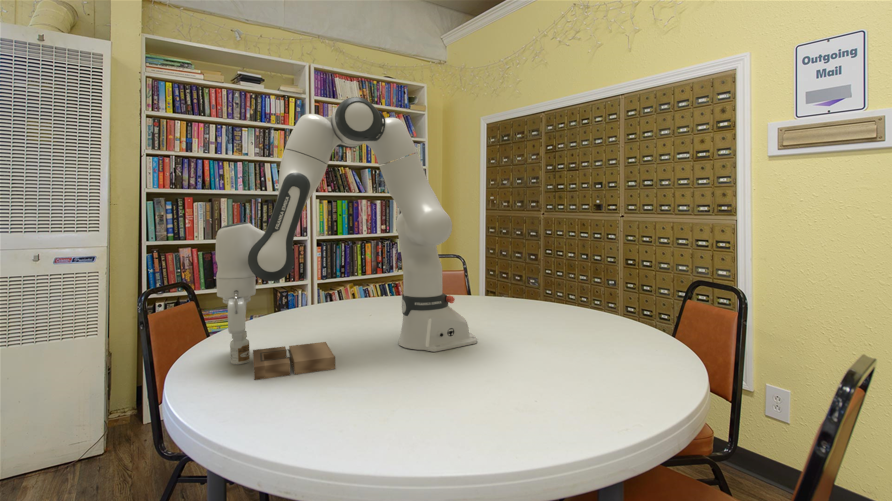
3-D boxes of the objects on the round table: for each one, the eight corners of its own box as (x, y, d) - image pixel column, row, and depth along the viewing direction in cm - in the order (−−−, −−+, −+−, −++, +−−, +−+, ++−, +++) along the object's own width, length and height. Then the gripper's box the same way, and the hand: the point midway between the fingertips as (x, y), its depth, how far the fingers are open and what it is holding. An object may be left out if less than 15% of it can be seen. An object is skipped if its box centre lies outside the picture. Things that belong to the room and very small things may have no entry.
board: (326, 352, 126) (325, 341, 126) (335, 368, 113) (334, 356, 113) (253, 361, 119) (252, 349, 119) (254, 379, 106) (253, 366, 106)
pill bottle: (242, 365, 116) (241, 334, 115) (227, 364, 117) (225, 333, 116) (253, 359, 120) (252, 330, 120) (238, 358, 121) (237, 329, 120)
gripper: (250, 294, 109) (252, 352, 110) (249, 281, 127) (251, 331, 128) (220, 295, 106) (222, 355, 107) (224, 282, 125) (225, 334, 126)
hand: (238, 342), depth 118 cm, fingers open, 8 cm apart
